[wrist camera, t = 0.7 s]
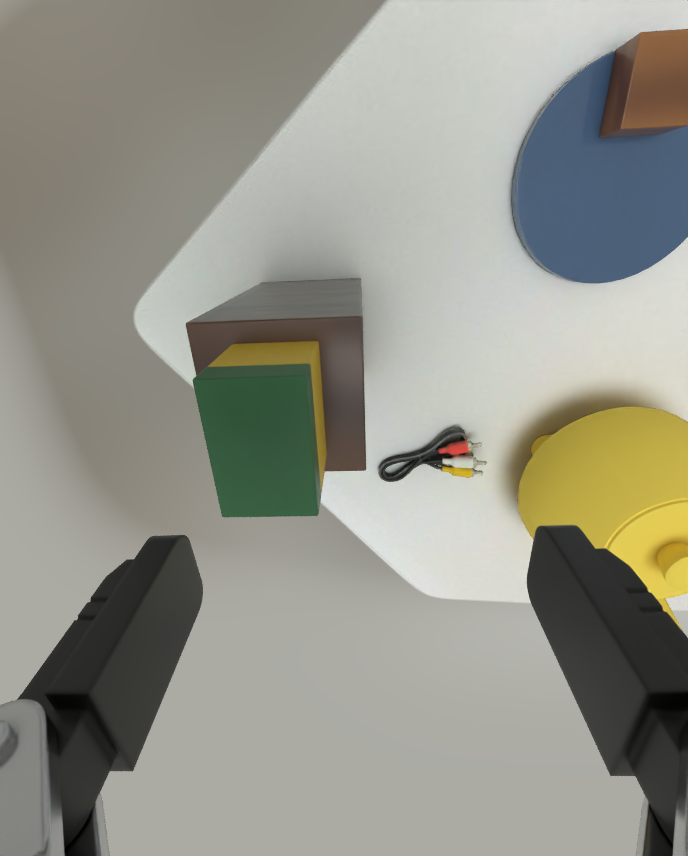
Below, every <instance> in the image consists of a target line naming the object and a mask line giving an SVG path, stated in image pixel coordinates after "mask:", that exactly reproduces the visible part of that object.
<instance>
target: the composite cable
mask: <svg viewBox="0 0 688 856" xmlns="http://www.w3.org/2000/svg"><path fill="white" fill-rule="evenodd" d="M456 435H460V436H461V438H460V440H459V441H457V442H454V443H450V444H448V445H447V446H446V447H441V448H438V449H436V448H437V447H438V446H439V445H440V444H441V443H443V442H444V441H445V440H446V439H448V438H450V437H453V436H456ZM481 445H482V443H480V442H479V443H472V442H471V441H467V436H466V434H465V432H464V430H462V429H461V428H454V429H452V430H448V431H447V432H445V433H444V434H442V435H441V436H440V437H439V438H438V439H437V440H436V441H434V442H433V443H432V444H431V445H429V446H428V447H427V448H425V449H423V450H421V451H419V452H416V453H412V454H406V455H400V456H395V457H391V458H389V459H386V460H385V461H383V462H382V464H381V465H380V467H379V476H380V478H381V479H383V480H384V481H388V482H394V481H399V480H401V479H403V478H404V477H405V476H406V475H407V474H409V473H410V472H411V471H412V470H413V469H414V468H416V467H417V466H419V465H421V464H428V465H430V466H432V467H434V468H436V469H441V471H445V472H449V473H451V474H452V475H454V476H462V477H473V476H474V474H477V475H483V471H477V470H475V469H473V468H475V467H476V466H477V465H486V463H487V462H486V461H478V460H477V459H476V457H473V453H472V452H470V451H472V450H473V448H474V447H479V446H481ZM410 460H412V461H411V462H409V463H408V464H407V465H405V466H404V467H403V468H401V469H400V470H399V471H397V472H395V473H392V474H389V473H387V472H386V471H385V469H386V468H387V467H388V466H390V465H392V464H396V463H400V462H405V461H410ZM435 464H436V465H435ZM444 464H450V465H451V466H447V465H444ZM438 465H439V466H438ZM440 466H441V467H440Z"/></svg>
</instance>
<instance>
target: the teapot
mask: <svg viewBox="0 0 688 856" xmlns="http://www.w3.org/2000/svg"><path fill="white" fill-rule="evenodd" d="M531 453H532V455H533V456H532V458H531V459H530V461H529V462H528V464H527V466H526V468H525V470H524V472H523V475H522V477H521V480H520V485H519V490H518V506H519V513H520V516H521V519H522V522H523V524H524V525H525V527H526V529H527V531H528V532H529V534H530V535H531V537H532V538H533V539H534V536H535V531H536V529H537V527H538V526H547V525H576V526H578V527H579V528H580V529H581V530H582V531H583V533H584V534H585V535H586V537H587V538H588V539H589V541H590V542H591V543H592V545H593V546H594V548H595V549H598V548H606V549H607V550H609V551H610V552H611V553H613V554H614V555H615V556H617V557H618V558H620V559H621V560H622V561H624V562H625V563H626V564H628V565H629V566H630V567H631V568H632V569H633V570H634V572H635V573H636V574H637V575H638V577H639V578H640V579H641V580H642V581H643V583H644V584H645V585H646V586H647V588H648V592H649V593H652V594H653V595H654V596H655V598H656V599H657V600H658V601H659V603H660V604H661V605H662V606H663V611H664V612H667V613H668V614H669V615H670V616H671V618H672V619H673V620H674V621H675V623H676V624H677V625H678V626H679V623H678V622H677V620H676V618H675V616H674V614H673V612H672V610H671V608H670V607H669V605H668V603H667V601H666V599H665V598H670V597H675V596H679V595H683V594H686V593H688V422H687V421H685V420H683V419H682V418H680V417H678V416H677V415H674V414H672V413H669V412H667V411H663V410H659V409H655V408H645V407H620V408H612V409H608V410H604V411H599V412H596V413H593V414H590V415H588V416H585V417H582V418H580V419H578V420H576V421H574V422H572V423H570V424H568V425H567V426H565V427H563V428H562V429H560V430H559V431H557V432H556V433H555V434H553V435H550V434H549V435H543V436H541V437H539V438H537V439H536V440H535V441H534V442H533V444H532V446H531ZM679 628H680V629H681V627H680V626H679ZM681 630H682V629H681Z"/></svg>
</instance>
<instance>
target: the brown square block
mask: <svg viewBox="0 0 688 856" xmlns="http://www.w3.org/2000/svg"><path fill="white" fill-rule="evenodd" d="M687 125H688V29H681V30H667V31H652V32H641V33H639V34H638V35H636V36H635V37H634V38H632V39H631V40H629V41H628V42H626V43H625V44H624V45H622V46H621V47H619V48H618V49H617V50H616V52H615V57H614V62H613V67H612V73H611V78H610V83H609V88H608V94H607V99H606V104H605V109H604V115H603V120H602V125H601V130H600V136H599V137H600V138H604V137H621V136H639V135H656V134H663V133H666V132H669V131H672V130H675V129H678V128H681V127H684V126H687Z"/></svg>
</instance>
